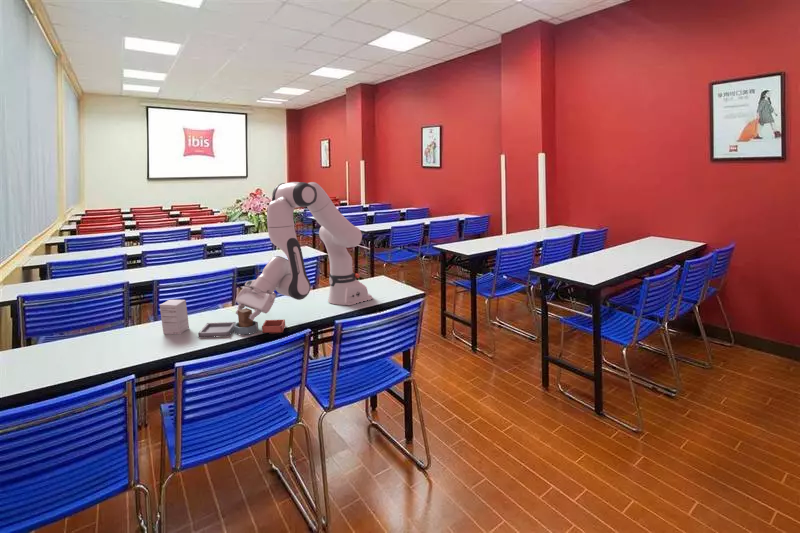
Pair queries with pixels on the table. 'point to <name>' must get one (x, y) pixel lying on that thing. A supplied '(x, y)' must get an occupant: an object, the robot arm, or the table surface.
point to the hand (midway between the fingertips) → (243, 316)
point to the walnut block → (245, 318)
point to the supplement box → (174, 316)
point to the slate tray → (217, 329)
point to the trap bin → (273, 326)
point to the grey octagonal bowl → (246, 328)
